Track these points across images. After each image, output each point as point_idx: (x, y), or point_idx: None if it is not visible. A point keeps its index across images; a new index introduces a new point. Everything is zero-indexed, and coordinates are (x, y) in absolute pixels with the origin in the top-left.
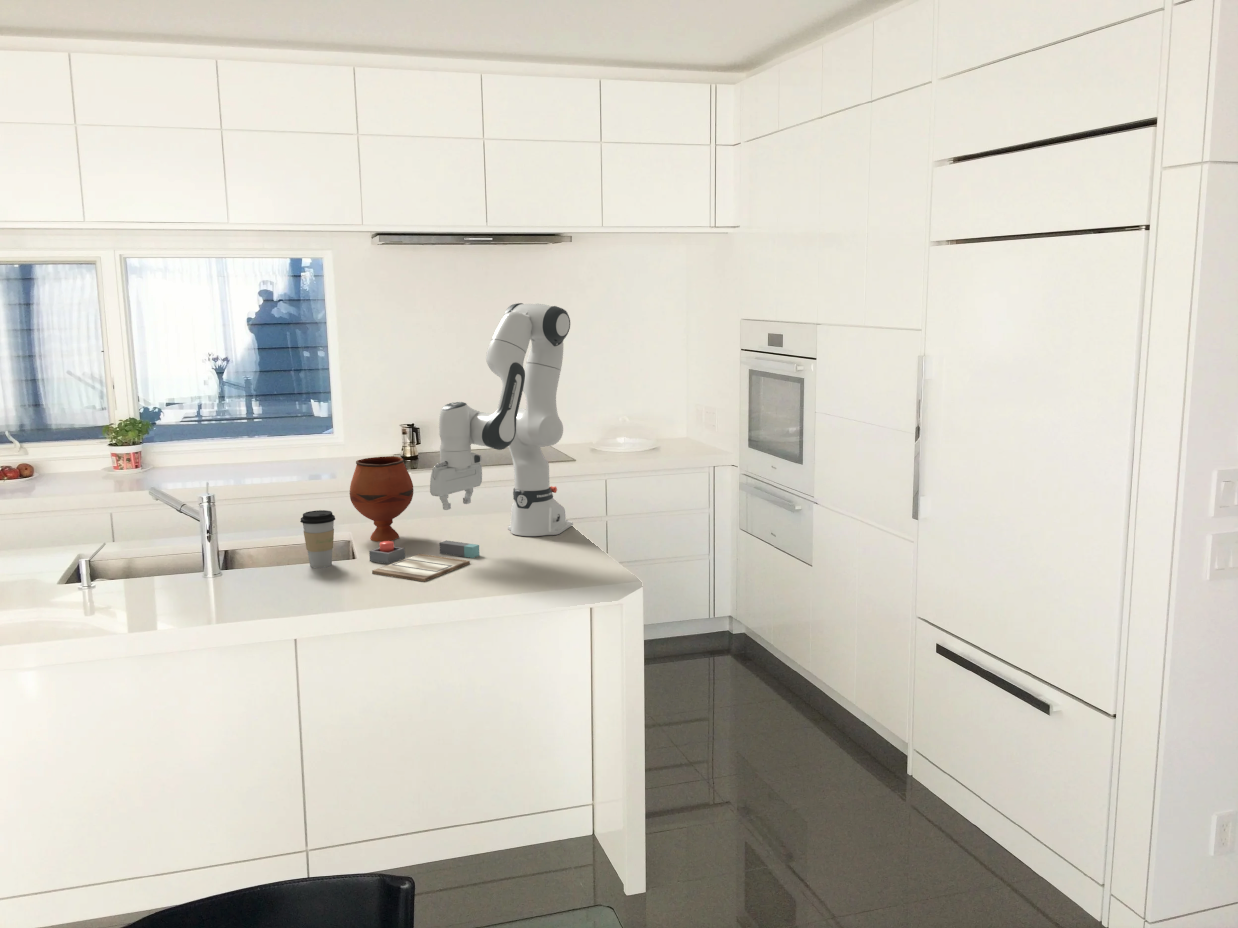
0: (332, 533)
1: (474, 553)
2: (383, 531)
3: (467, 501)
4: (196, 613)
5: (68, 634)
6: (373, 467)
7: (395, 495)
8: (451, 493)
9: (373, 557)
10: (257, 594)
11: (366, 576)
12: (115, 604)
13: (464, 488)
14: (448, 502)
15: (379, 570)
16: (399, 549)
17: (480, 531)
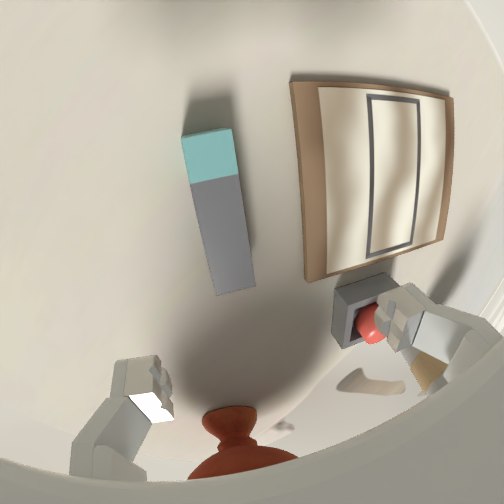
0: (444, 362)
1: (214, 130)
2: (245, 426)
3: (151, 372)
4: None
5: None
6: None
7: None
8: (480, 359)
9: None
10: (498, 265)
11: (451, 229)
12: (499, 315)
13: (274, 487)
14: (436, 314)
15: (440, 229)
16: (363, 301)
17: (35, 352)
